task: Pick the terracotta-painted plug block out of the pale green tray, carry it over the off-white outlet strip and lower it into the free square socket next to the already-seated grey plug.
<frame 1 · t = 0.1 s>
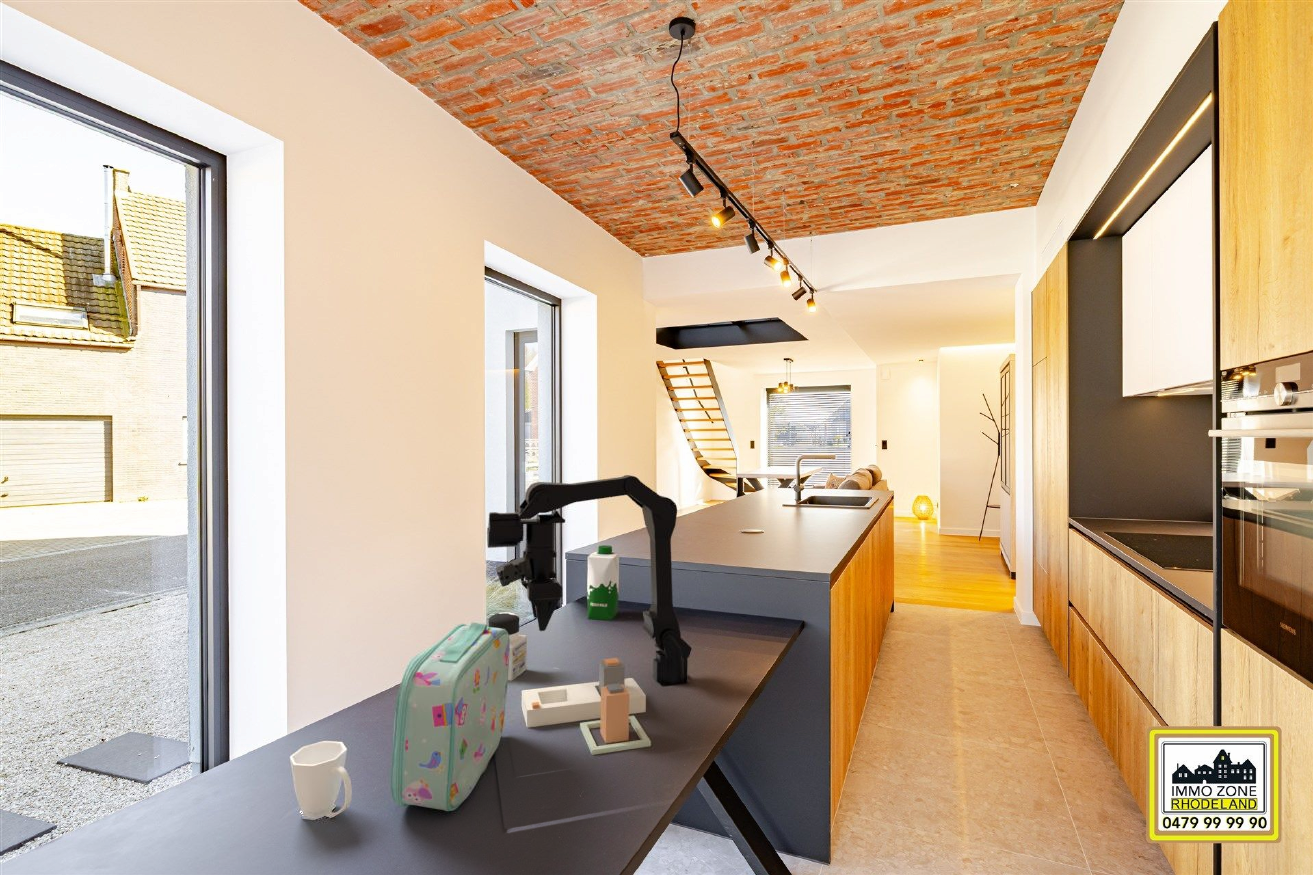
hand: (539, 623, 122), 15 cm above the table, fingers open, 9 cm apart
plug: (614, 736, 106), resting on tray
twin plug: (611, 705, 118), resting on outlet strip
container: (503, 675, 134), on the table
lunch box: (455, 773, 95), on the table
outlet strip: (583, 711, 116), on the table
milk carton: (602, 616, 179), on the table
tray: (614, 738, 106), on the table
cup: (324, 815, 83), on the table
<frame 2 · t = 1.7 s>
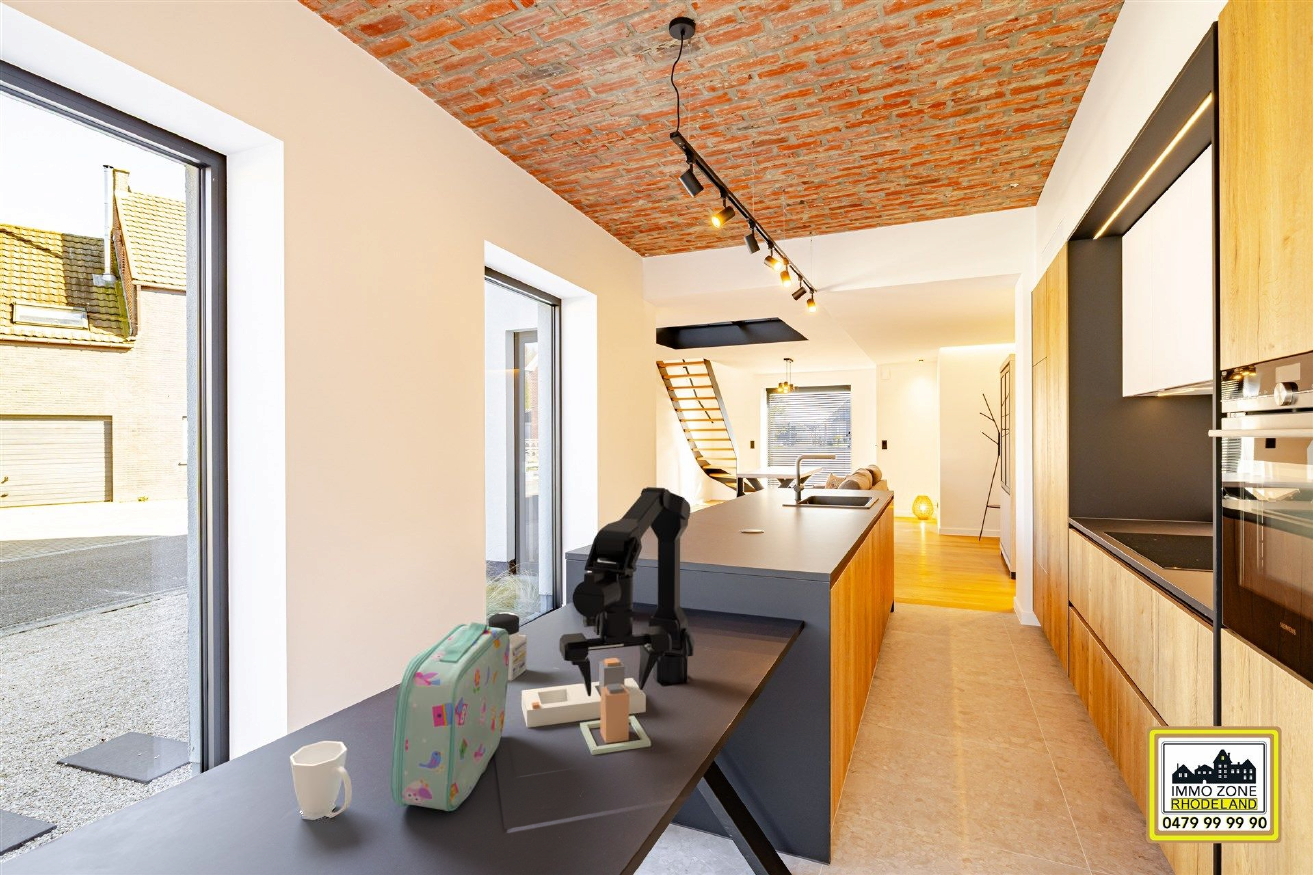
hand: (615, 692, 106), 8 cm above the table, fingers open, 9 cm apart
nothing on the table moved.
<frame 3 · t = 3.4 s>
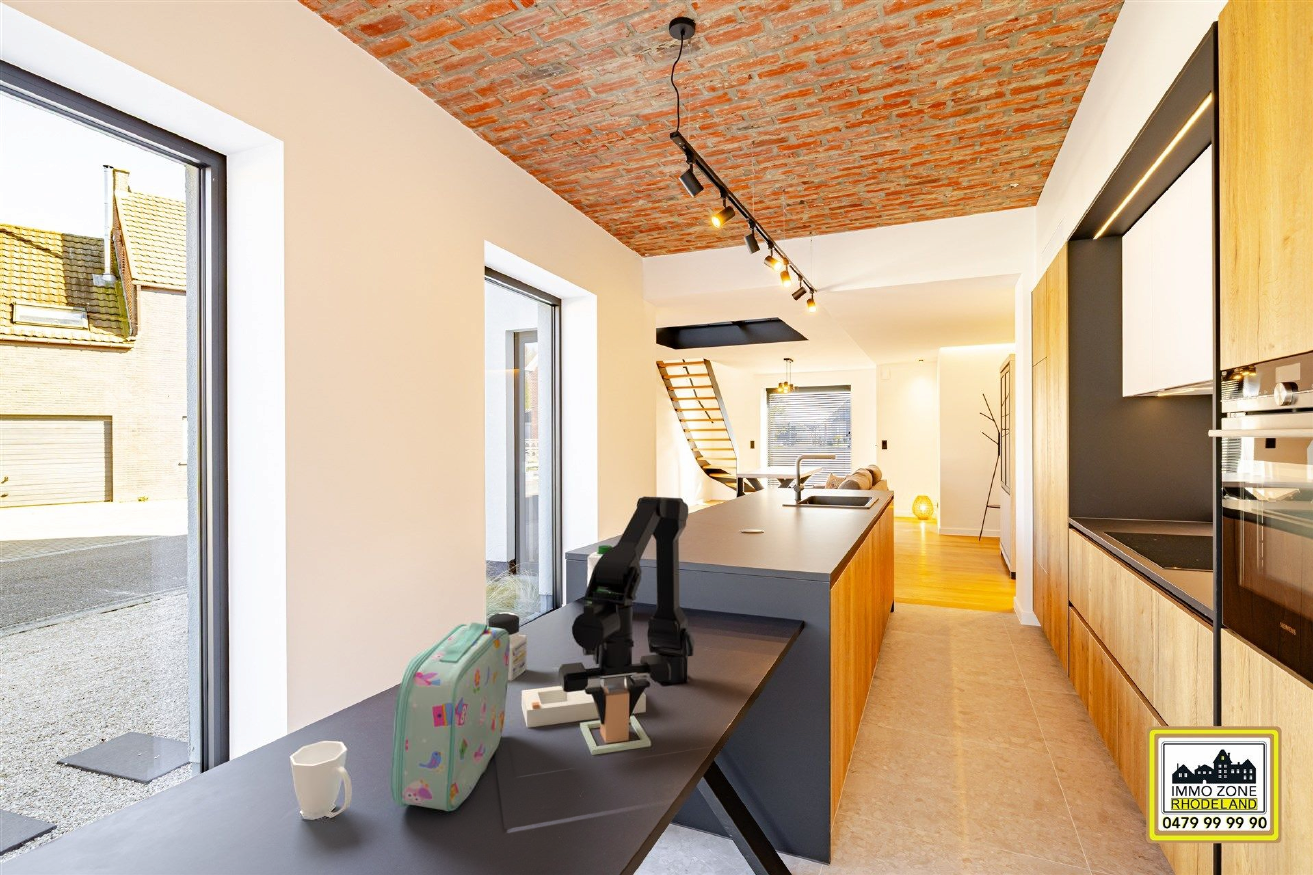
hand: (614, 721, 106), 3 cm above the table, fingers closed on plug, 4 cm apart
plug: (614, 736, 106), resting on tray, touching gripper
everything else where it was.
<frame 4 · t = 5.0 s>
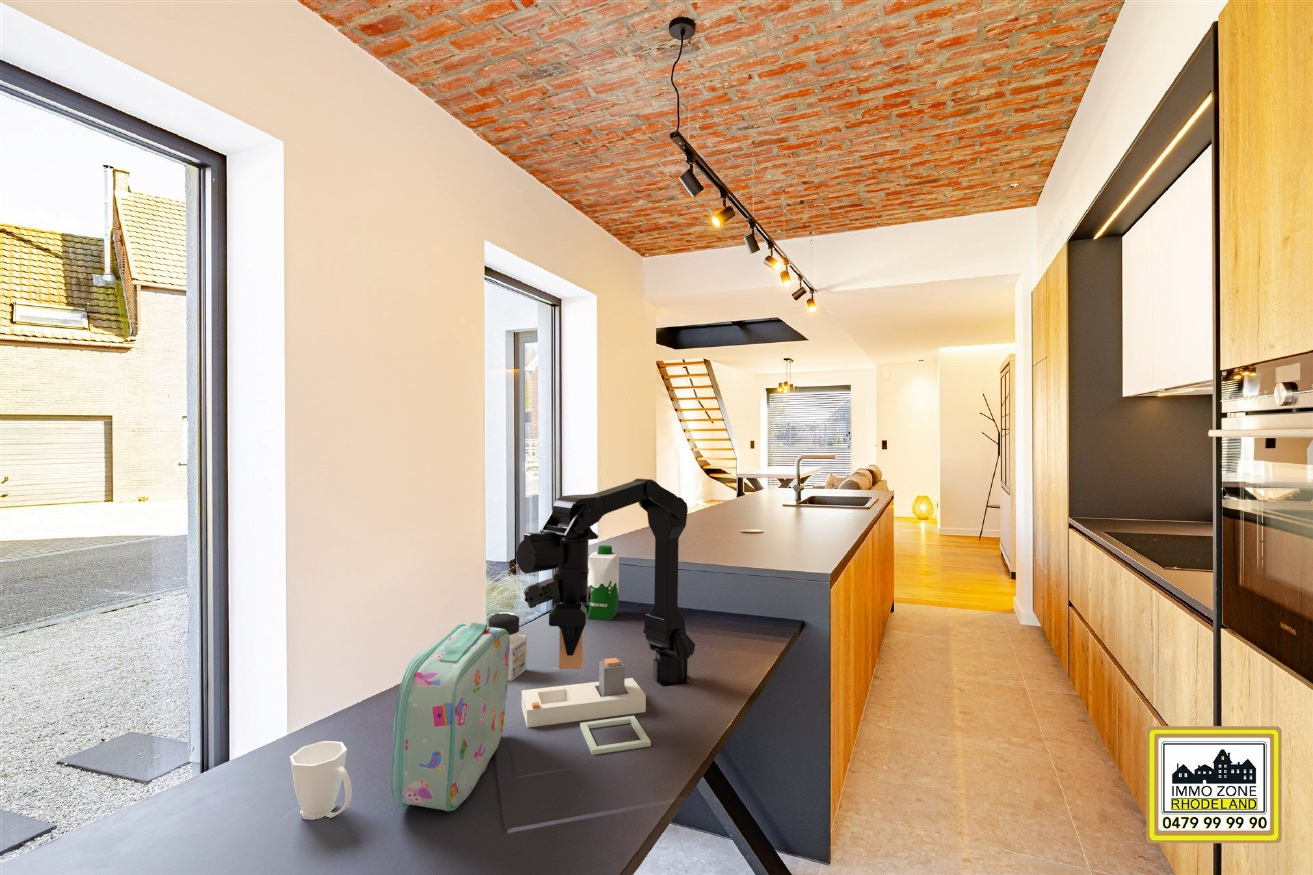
hand: (571, 651, 112), 13 cm above the table, fingers closed on plug, 4 cm apart
plug: (571, 664, 112), point 10 cm above the table, touching gripper
everything else where it was.
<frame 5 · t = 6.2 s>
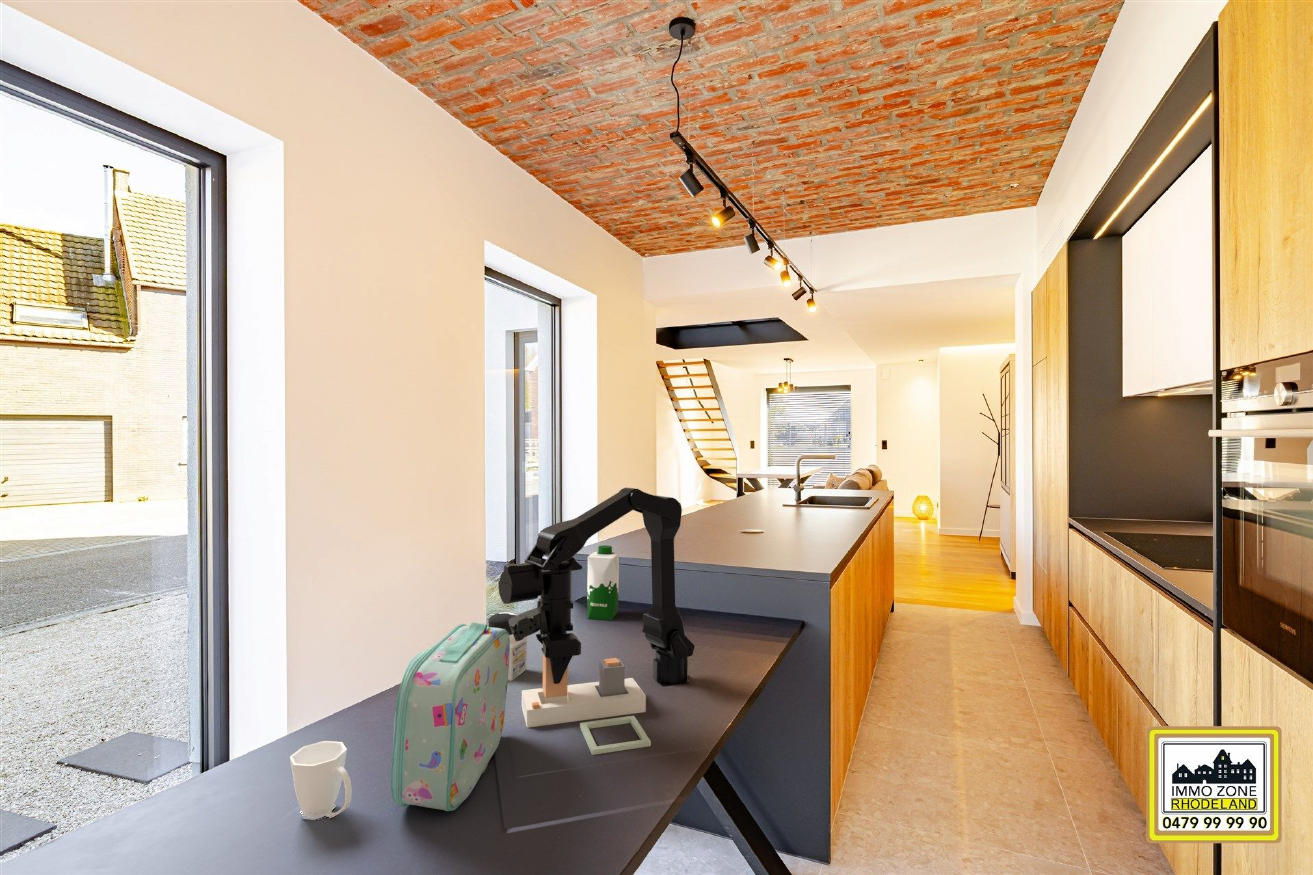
hand: (554, 678, 114), 7 cm above the table, fingers closed on plug, 4 cm apart
plug: (554, 692, 114), point 4 cm above the table, touching gripper
everything else where it was.
when the fingers open (4 cm above the table, at t = 7.0 s): plug stays where it is, resting on outlet strip.
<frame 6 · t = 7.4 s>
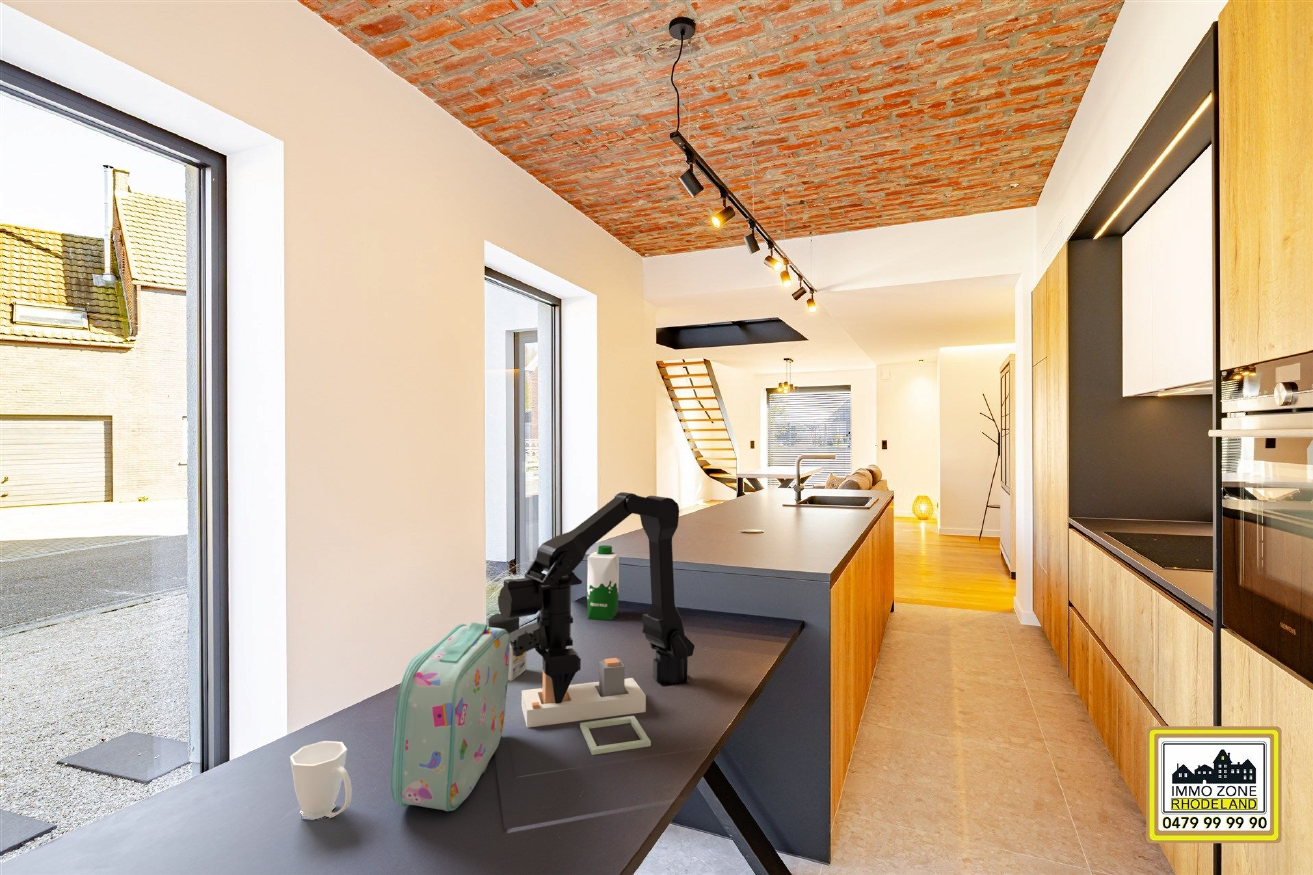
hand: (554, 693, 114), 4 cm above the table, fingers open, 8 cm apart
plug: (554, 712, 114), resting on outlet strip
everything else where it was.
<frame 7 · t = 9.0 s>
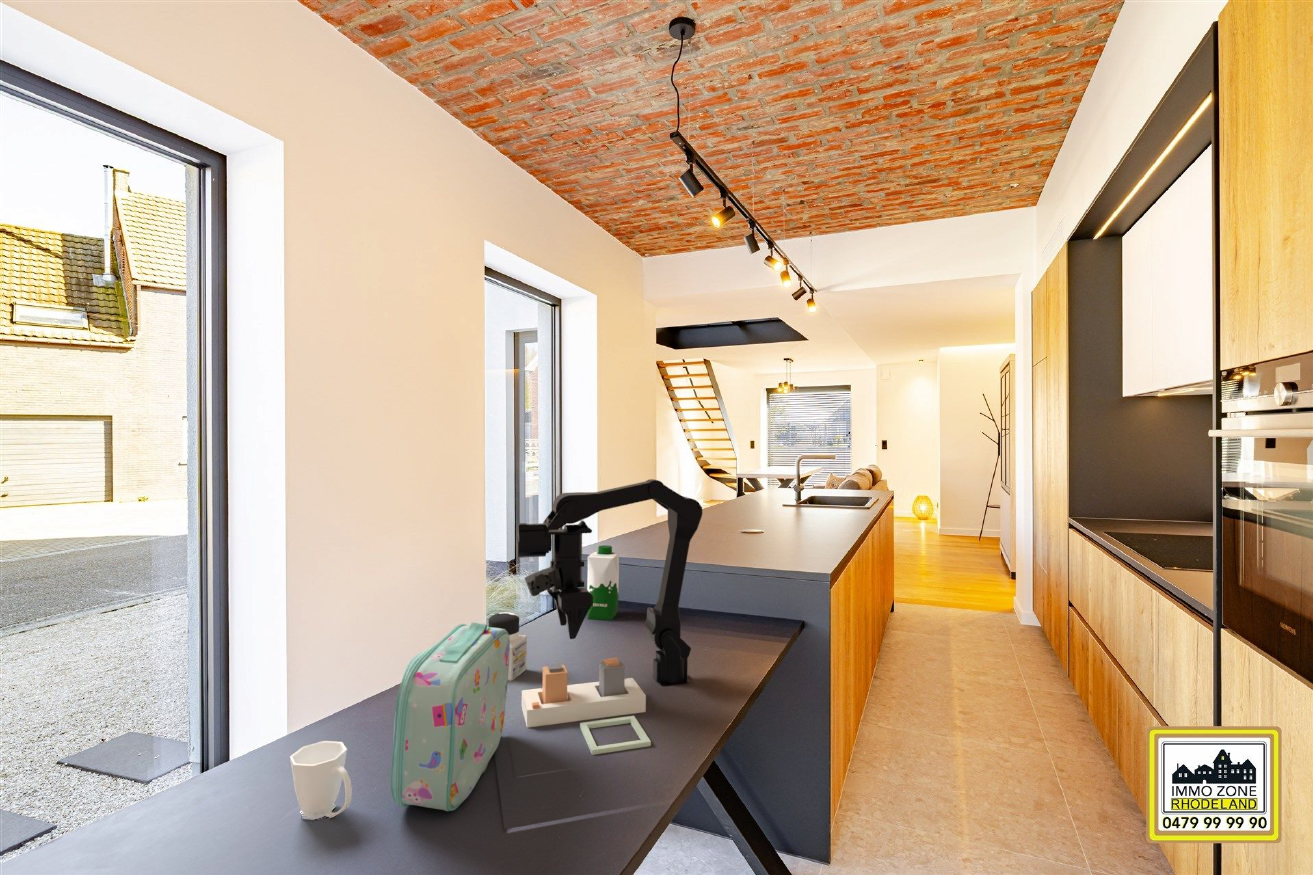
hand: (567, 631, 125), 12 cm above the table, fingers open, 9 cm apart
nothing on the table moved.
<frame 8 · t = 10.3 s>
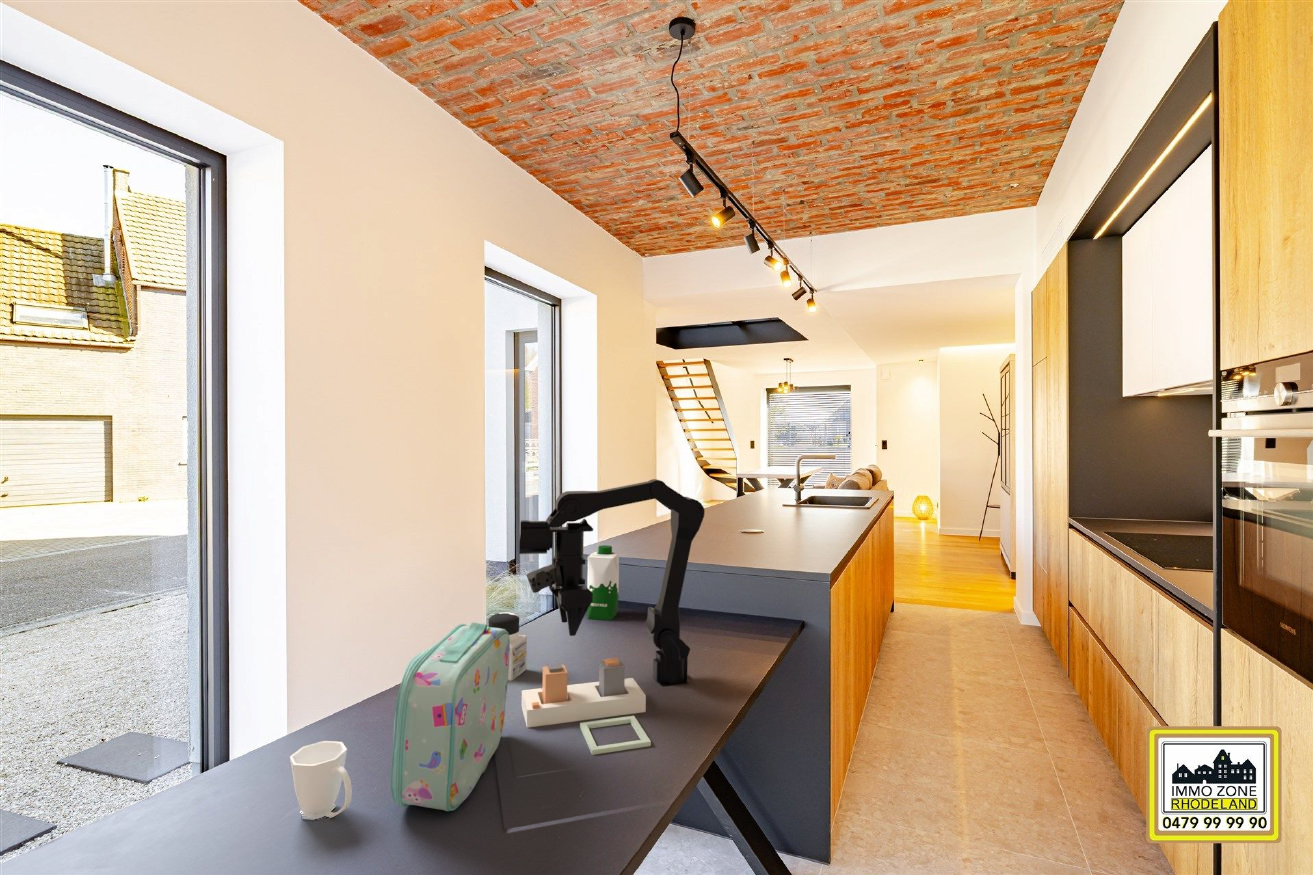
hand: (568, 628, 126), 13 cm above the table, fingers open, 9 cm apart
nothing on the table moved.
at the end: plug 0.1 cm from the target spot on the outlet strip, point 0.5 cm above the outlet strip's base; plug tilted 0°; the gripper is holding nothing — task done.
